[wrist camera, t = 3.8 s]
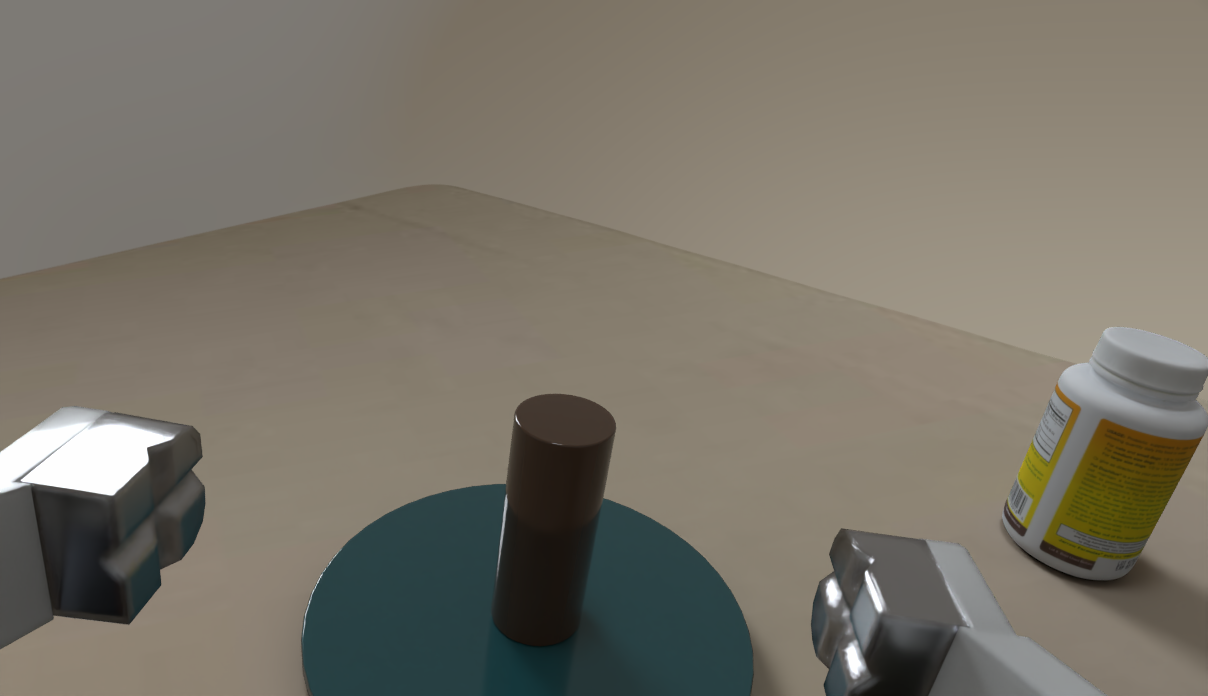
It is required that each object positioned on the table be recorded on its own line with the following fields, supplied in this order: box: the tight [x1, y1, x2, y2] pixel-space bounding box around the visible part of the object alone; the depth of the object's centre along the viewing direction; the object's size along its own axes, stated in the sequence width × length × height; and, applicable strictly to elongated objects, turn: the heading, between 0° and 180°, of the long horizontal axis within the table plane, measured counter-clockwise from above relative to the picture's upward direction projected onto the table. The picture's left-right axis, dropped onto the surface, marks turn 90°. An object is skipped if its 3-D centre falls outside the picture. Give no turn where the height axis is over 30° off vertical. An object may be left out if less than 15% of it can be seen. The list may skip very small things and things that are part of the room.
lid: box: [301, 394, 754, 696], centre depth 25 cm, size 15×15×9 cm
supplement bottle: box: [1002, 327, 1208, 580], centre depth 35 cm, size 6×6×10 cm
